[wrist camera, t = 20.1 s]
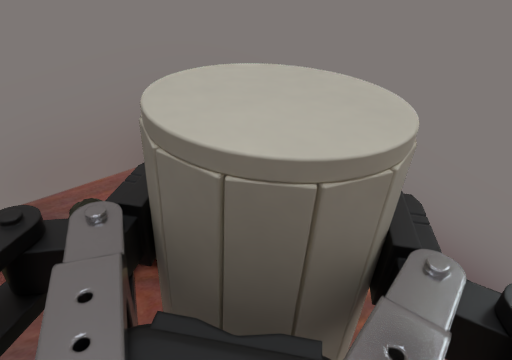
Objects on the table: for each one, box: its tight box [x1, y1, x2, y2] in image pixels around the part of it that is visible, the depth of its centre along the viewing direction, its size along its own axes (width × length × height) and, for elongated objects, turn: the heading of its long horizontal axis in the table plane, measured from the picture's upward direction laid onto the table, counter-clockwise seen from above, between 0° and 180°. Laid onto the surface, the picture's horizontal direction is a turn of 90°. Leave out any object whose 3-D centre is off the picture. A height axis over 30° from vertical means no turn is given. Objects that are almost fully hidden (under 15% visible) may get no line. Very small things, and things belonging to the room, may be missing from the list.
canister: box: [139, 63, 419, 360], centre depth 11 cm, size 6×6×10 cm
